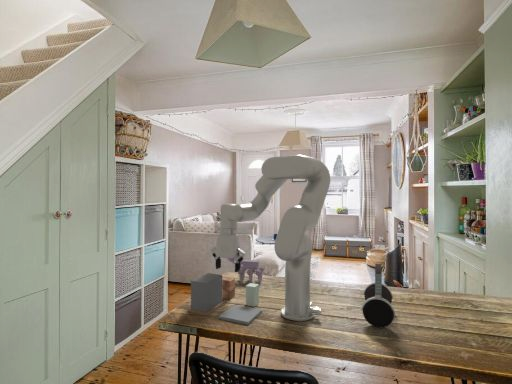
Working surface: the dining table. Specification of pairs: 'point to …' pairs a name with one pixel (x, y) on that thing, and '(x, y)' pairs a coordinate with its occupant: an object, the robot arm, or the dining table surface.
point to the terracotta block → (228, 288)
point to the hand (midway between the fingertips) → (227, 269)
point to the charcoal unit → (206, 294)
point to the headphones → (378, 302)
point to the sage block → (252, 294)
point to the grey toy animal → (249, 265)
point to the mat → (240, 314)
